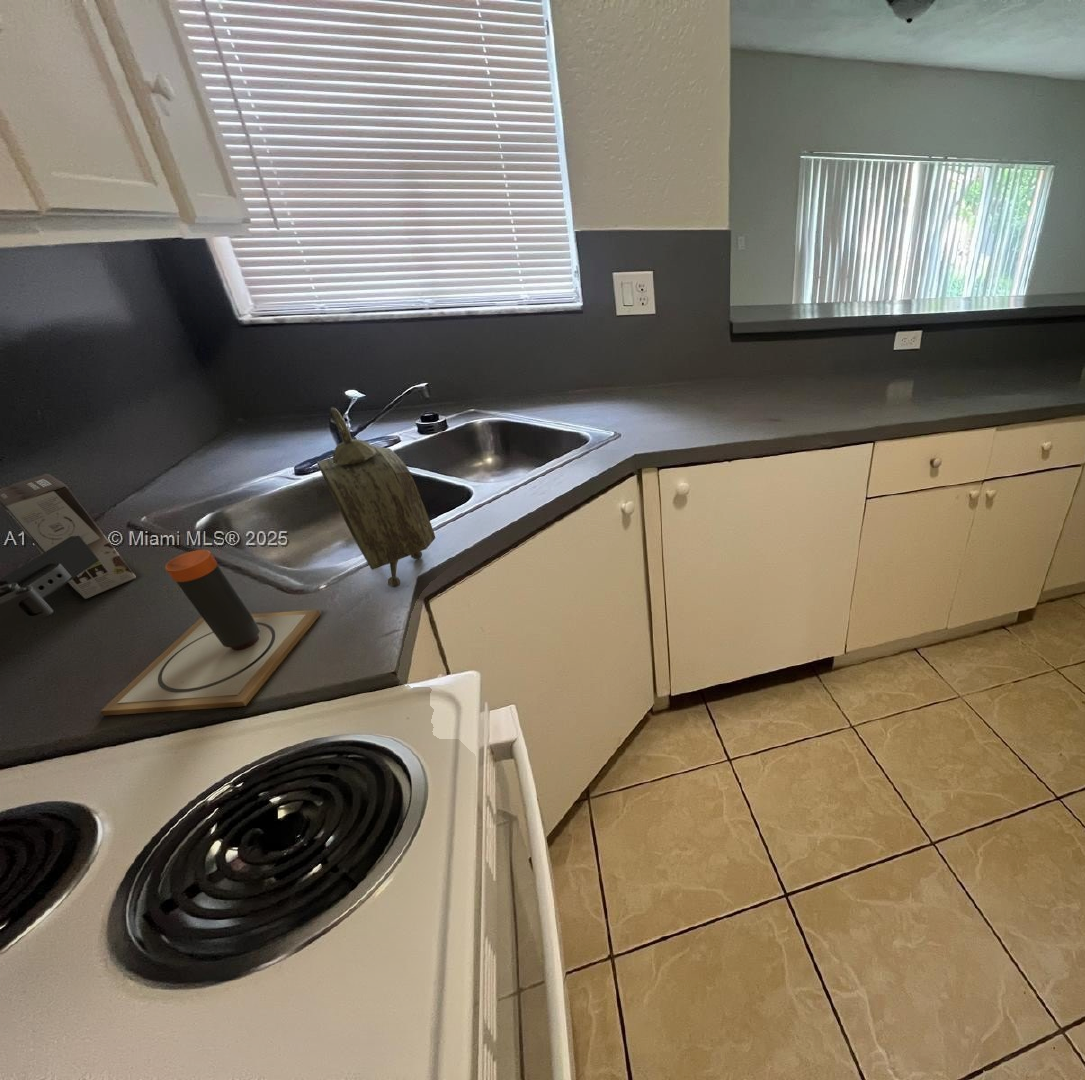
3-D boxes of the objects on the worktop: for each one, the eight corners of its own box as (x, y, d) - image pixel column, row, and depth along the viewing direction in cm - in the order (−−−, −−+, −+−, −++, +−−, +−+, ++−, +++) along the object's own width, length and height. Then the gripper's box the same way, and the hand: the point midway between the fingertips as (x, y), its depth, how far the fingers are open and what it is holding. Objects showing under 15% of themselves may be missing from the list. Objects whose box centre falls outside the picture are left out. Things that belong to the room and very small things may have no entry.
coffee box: (139, 577, 87) (67, 485, 78) (84, 600, 83) (2, 506, 74) (119, 560, 92) (48, 471, 83) (66, 582, 87) (-14, 490, 78)
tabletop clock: (361, 556, 89) (288, 404, 76) (420, 534, 94) (361, 387, 80) (386, 598, 80) (307, 434, 66) (450, 571, 85) (389, 413, 71)
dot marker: (217, 655, 70) (155, 572, 63) (239, 632, 74) (183, 550, 67) (251, 652, 70) (193, 569, 63) (272, 629, 74) (218, 548, 67)
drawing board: (104, 715, 64) (98, 710, 64) (204, 621, 78) (200, 616, 77) (245, 706, 65) (241, 700, 64) (321, 613, 78) (318, 608, 77)
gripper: (-497, 813, 35) (-100, 594, 52) (-82, 785, 35) (173, 577, 53) (-670, 736, 31) (-175, 526, 48) (-196, 705, 31) (123, 508, 49)
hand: (8, 552), depth 51 cm, fingers open, 13 cm apart
